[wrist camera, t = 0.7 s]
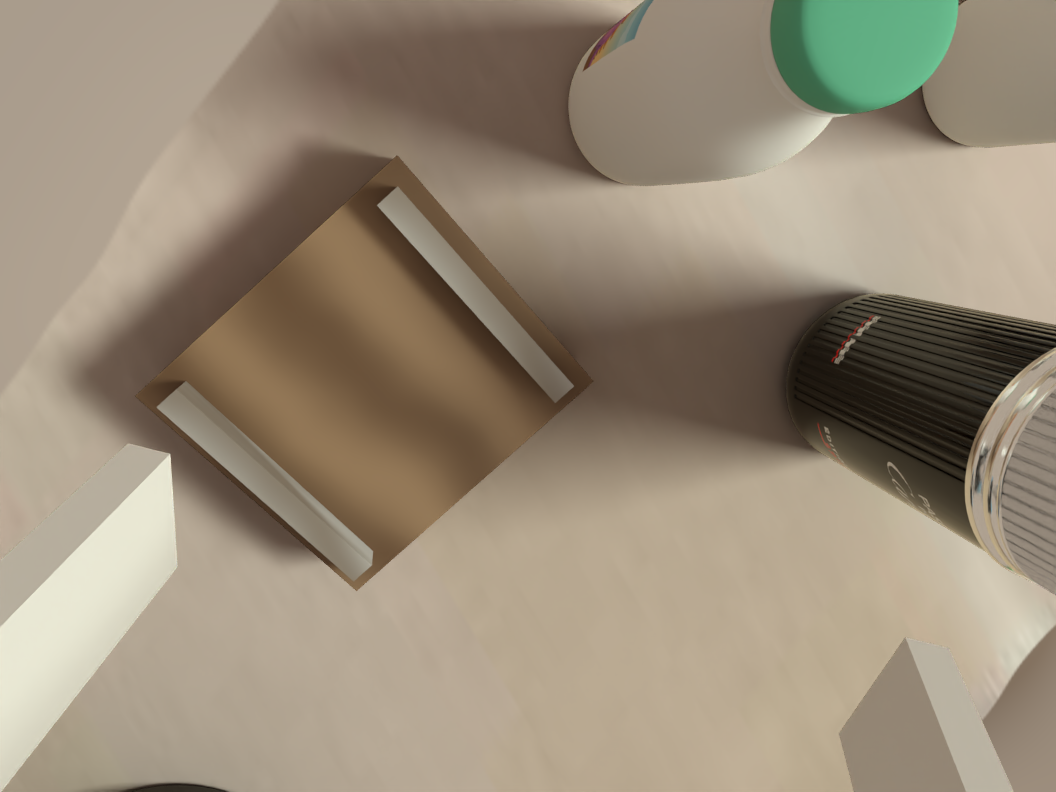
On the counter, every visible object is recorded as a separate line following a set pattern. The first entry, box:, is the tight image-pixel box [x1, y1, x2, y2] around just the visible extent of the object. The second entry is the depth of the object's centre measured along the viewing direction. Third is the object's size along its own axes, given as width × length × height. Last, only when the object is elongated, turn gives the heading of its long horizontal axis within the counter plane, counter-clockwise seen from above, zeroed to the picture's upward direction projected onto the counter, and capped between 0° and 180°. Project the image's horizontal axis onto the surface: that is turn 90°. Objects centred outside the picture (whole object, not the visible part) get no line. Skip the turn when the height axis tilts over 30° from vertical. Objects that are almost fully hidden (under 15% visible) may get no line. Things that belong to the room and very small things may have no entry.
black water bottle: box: [786, 293, 1056, 595], centre depth 31 cm, size 10×10×25 cm
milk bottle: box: [568, 0, 958, 186], centre depth 28 cm, size 8×8×20 cm
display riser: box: [135, 156, 593, 591], centre depth 36 cm, size 16×14×6 cm
